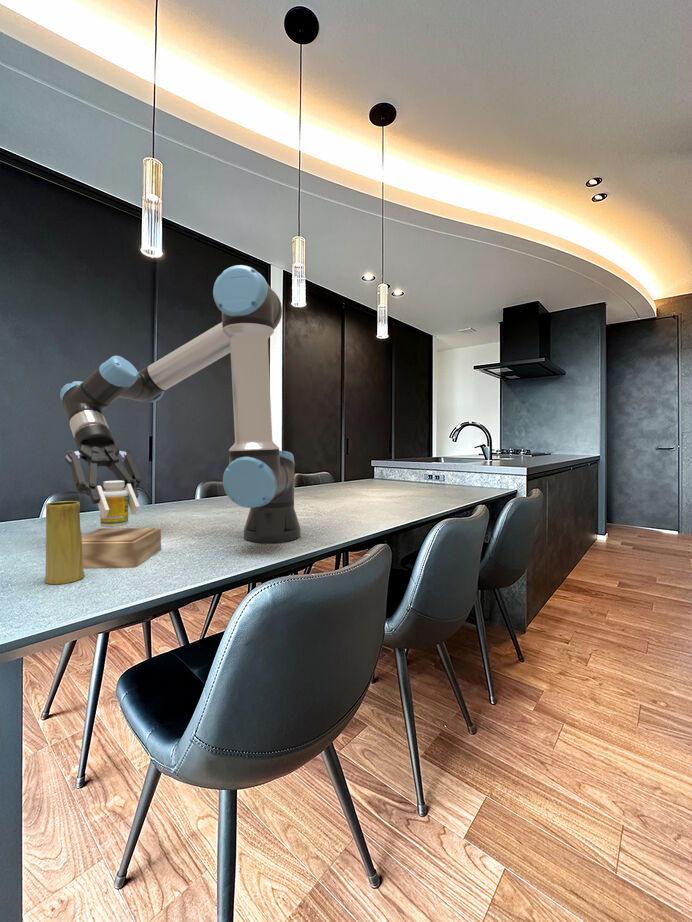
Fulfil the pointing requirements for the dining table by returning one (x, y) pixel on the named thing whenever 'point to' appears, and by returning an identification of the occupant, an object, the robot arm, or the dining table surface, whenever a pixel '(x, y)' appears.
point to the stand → (119, 547)
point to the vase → (63, 543)
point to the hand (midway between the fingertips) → (121, 511)
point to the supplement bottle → (115, 504)
